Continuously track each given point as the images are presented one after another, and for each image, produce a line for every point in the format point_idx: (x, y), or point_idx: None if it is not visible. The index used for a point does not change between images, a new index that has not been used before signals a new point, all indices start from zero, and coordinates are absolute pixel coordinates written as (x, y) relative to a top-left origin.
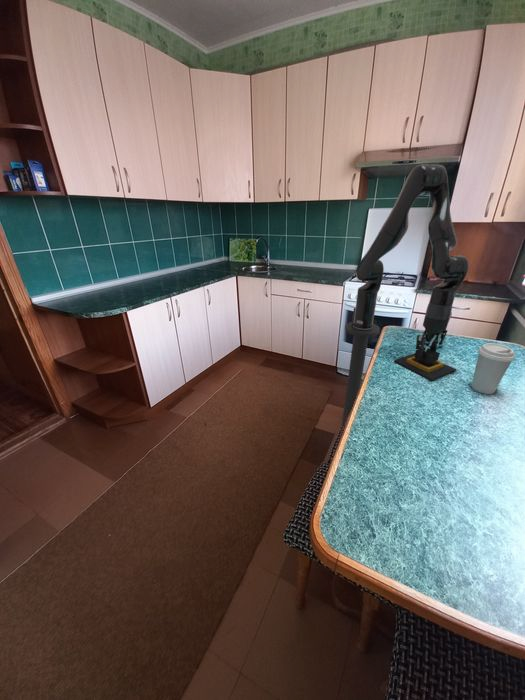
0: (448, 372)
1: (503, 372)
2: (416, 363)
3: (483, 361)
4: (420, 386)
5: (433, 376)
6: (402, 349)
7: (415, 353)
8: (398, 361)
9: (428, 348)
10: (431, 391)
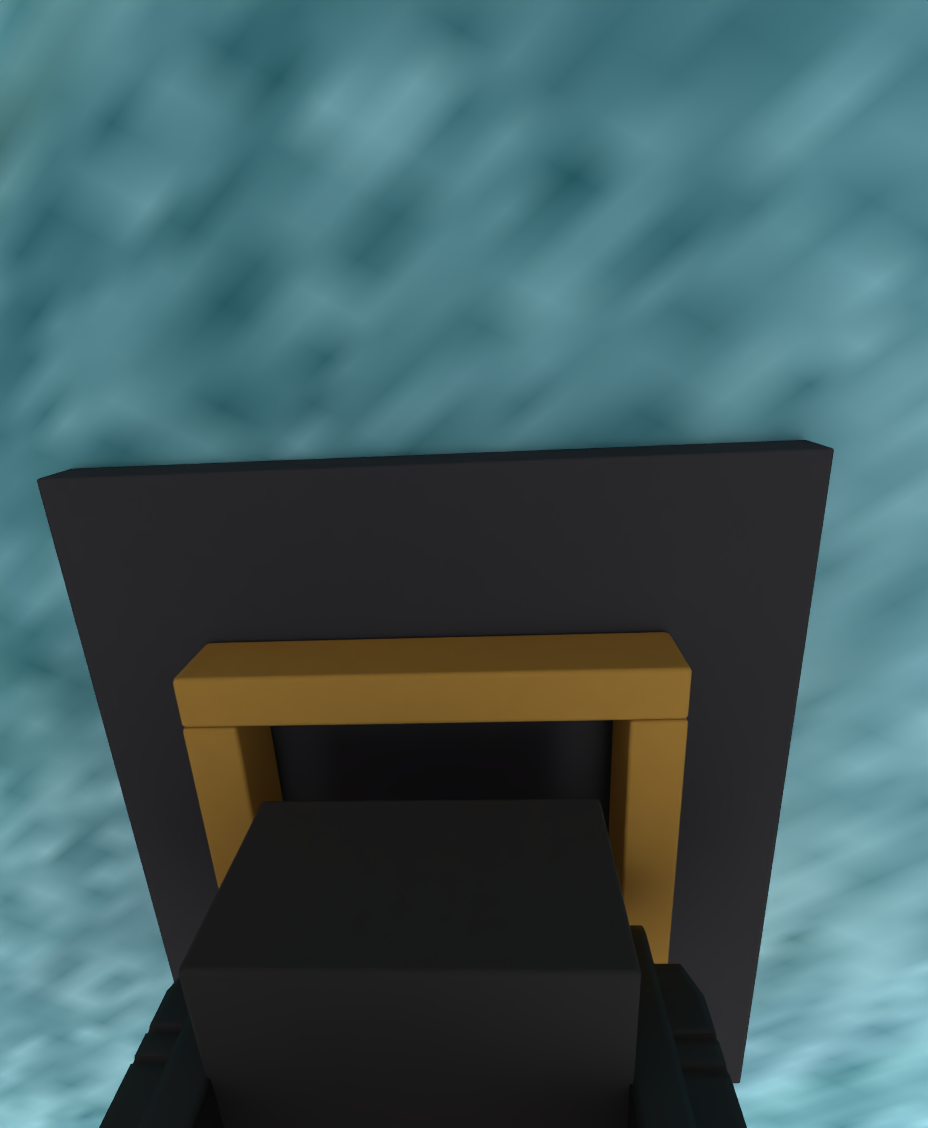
0: None
1: None
2: (215, 870)
3: None
4: (12, 1037)
5: None
6: (760, 41)
7: (225, 889)
8: (83, 559)
9: (611, 1069)
10: (63, 1121)
